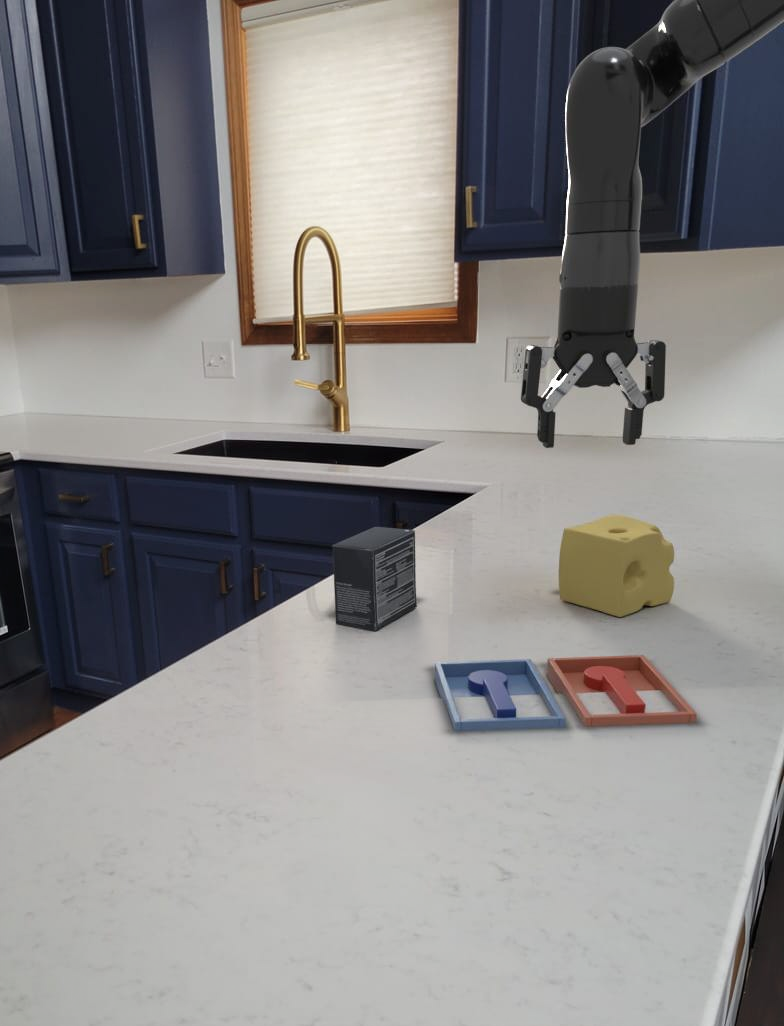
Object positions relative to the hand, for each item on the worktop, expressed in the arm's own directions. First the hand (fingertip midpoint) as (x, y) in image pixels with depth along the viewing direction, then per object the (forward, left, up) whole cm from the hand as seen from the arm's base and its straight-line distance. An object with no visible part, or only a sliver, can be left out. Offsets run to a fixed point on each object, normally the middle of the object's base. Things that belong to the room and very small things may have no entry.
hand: (588, 445), depth 101 cm
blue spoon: (+12, +16, -23) cm, 30 cm away
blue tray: (+12, +15, -23) cm, 30 cm away
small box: (+22, -14, -23) cm, 35 cm away
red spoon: (0, +16, -23) cm, 27 cm away
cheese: (-9, -16, -23) cm, 30 cm away
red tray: (0, +15, -23) cm, 28 cm away
